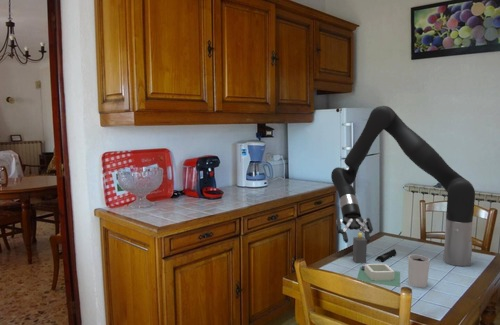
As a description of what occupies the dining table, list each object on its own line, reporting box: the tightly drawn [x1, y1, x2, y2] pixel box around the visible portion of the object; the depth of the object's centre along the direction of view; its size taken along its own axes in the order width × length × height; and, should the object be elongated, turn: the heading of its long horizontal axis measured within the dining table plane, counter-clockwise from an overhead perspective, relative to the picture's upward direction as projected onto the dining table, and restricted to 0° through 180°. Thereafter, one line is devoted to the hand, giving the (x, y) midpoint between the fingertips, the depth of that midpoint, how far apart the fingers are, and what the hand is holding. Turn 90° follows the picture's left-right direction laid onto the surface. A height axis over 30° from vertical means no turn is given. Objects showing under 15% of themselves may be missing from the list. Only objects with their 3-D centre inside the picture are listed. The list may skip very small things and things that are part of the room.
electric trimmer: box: [374, 248, 397, 263], centre depth 158 cm, size 4×15×3 cm, turn 136°
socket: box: [364, 263, 395, 281], centre depth 138 cm, size 8×8×3 cm
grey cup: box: [407, 254, 431, 288], centre depth 131 cm, size 7×7×10 cm
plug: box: [352, 231, 368, 264], centre depth 152 cm, size 4×4×12 cm
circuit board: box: [356, 265, 401, 288], centre depth 138 cm, size 14×14×2 cm
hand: (357, 241), depth 155 cm, fingers open, 8 cm apart
